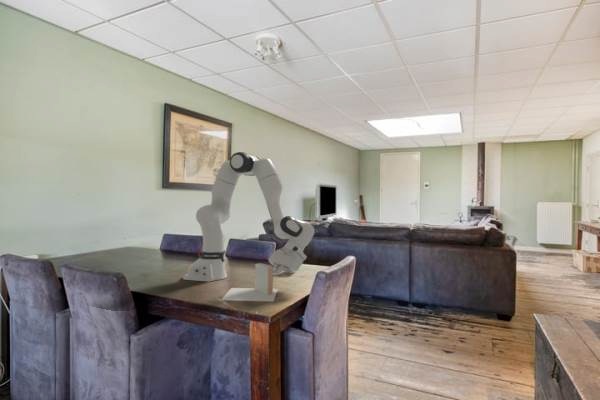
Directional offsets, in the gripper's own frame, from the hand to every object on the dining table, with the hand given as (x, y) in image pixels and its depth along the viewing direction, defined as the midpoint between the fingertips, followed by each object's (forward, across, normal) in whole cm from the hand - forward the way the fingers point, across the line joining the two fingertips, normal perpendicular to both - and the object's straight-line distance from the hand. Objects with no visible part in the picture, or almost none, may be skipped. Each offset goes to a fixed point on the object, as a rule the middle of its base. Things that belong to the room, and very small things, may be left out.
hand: (275, 273), depth 154 cm
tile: (+10, 0, +1) cm, 10 cm away
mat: (+14, 0, -3) cm, 15 cm away
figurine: (-14, -25, +25) cm, 38 cm away
